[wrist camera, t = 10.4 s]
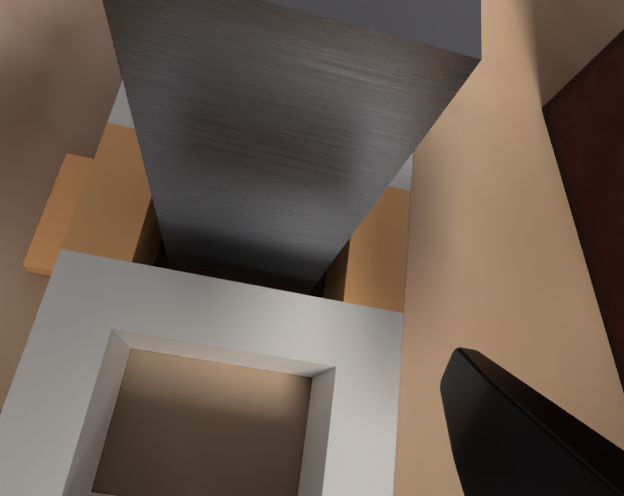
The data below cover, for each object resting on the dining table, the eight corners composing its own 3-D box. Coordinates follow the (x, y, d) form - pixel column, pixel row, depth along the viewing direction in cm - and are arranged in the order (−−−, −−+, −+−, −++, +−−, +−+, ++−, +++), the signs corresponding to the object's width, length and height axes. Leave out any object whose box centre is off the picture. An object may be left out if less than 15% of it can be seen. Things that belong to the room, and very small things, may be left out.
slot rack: (346, 595, 15) (384, 641, 12) (-78, 553, 13) (-170, 594, 10) (392, 73, 23) (421, 17, 20) (132, 6, 21) (119, -68, 18)
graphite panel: (303, 301, 18) (481, 59, 6) (172, 277, 17) (91, -47, 6) (312, 231, 19) (479, -87, 7) (190, 206, 19) (156, -190, 7)
